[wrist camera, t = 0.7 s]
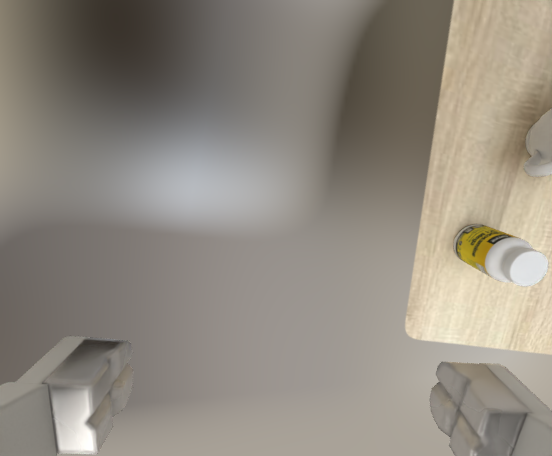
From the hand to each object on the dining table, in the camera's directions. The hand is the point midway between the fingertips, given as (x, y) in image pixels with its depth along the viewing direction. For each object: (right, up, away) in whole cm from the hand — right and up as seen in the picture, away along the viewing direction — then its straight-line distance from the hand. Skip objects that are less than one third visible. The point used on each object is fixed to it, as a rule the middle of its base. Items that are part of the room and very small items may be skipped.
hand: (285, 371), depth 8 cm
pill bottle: (+30, +2, +40) cm, 50 cm away
